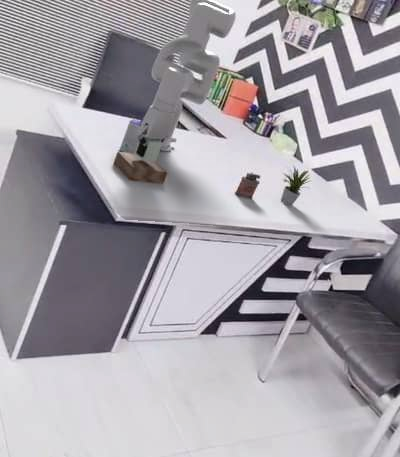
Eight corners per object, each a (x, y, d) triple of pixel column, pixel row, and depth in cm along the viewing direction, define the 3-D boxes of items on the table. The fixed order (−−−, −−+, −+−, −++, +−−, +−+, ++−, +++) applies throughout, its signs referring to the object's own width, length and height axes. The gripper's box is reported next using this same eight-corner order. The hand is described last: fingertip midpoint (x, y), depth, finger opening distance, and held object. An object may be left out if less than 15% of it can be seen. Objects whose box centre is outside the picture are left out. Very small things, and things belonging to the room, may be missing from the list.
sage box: (144, 153, 183) (151, 135, 180) (155, 161, 180) (162, 142, 178) (134, 153, 178) (140, 135, 175) (144, 161, 176) (152, 142, 173)
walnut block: (146, 168, 190) (151, 156, 188) (162, 184, 183) (167, 172, 181) (113, 164, 181) (117, 151, 179) (129, 181, 174) (133, 168, 172)
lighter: (236, 196, 201) (247, 173, 197) (233, 192, 204) (243, 169, 200) (253, 199, 206) (264, 177, 202) (249, 195, 208) (259, 173, 204)
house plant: (276, 191, 228) (293, 157, 222) (304, 206, 224) (322, 173, 218) (266, 196, 216) (283, 161, 209) (295, 213, 212) (314, 178, 205)
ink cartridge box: (147, 158, 199) (160, 123, 193) (142, 161, 194) (156, 125, 188) (124, 147, 200) (136, 112, 194) (118, 150, 195) (131, 114, 189)
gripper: (172, 102, 180) (154, 149, 188) (139, 98, 166) (120, 149, 174) (188, 112, 177) (168, 159, 184) (155, 109, 163) (135, 160, 170)
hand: (145, 154), depth 179 cm, fingers closed on sage box, 5 cm apart
